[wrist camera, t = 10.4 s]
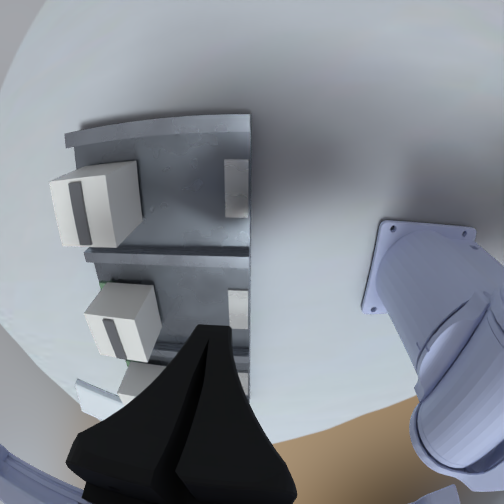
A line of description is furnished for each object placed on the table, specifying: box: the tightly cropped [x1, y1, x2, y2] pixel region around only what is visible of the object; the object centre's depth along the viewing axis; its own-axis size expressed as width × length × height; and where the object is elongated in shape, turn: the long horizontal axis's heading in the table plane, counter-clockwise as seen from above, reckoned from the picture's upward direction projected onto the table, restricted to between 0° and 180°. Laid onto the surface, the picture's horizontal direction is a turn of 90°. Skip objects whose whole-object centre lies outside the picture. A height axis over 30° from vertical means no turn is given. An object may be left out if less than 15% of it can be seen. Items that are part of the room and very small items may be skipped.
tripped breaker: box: [117, 361, 166, 406], centre depth 24 cm, size 4×4×4 cm
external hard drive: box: [75, 379, 124, 420], centre depth 32 cm, size 2×8×12 cm
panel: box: [65, 114, 251, 402], centre depth 22 cm, size 12×27×2 cm, turn 0°
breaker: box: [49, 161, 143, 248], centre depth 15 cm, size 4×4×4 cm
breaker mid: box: [84, 282, 162, 362], centre depth 19 cm, size 4×4×4 cm
